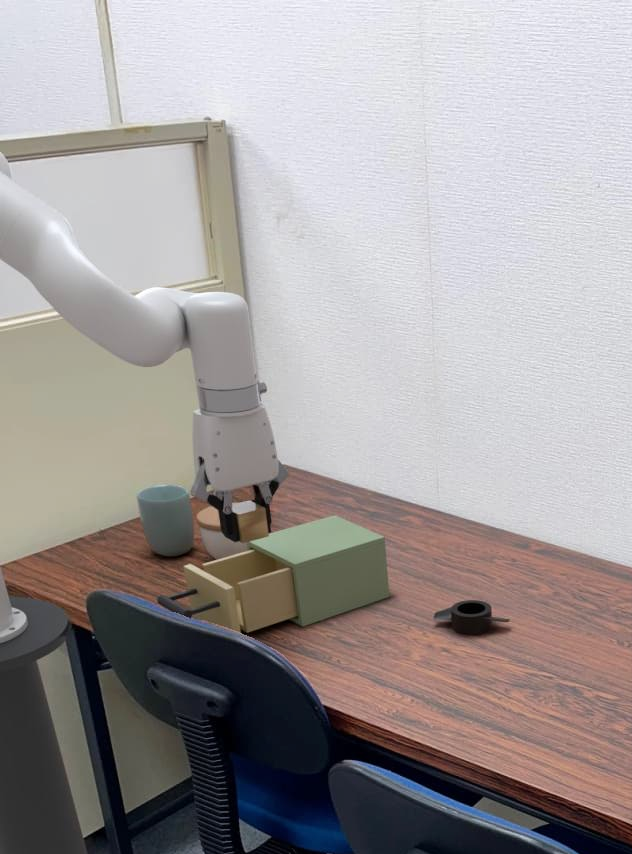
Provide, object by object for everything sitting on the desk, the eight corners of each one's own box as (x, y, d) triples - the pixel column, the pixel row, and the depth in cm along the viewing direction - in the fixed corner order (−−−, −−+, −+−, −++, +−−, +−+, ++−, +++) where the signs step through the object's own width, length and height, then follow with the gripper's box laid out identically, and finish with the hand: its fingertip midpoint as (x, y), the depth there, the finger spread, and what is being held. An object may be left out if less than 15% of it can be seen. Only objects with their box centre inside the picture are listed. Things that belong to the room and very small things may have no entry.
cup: (171, 564, 190) (159, 504, 184) (137, 554, 193) (125, 494, 188) (208, 550, 195) (198, 490, 190) (175, 540, 199) (164, 481, 193)
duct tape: (467, 608, 178) (466, 590, 176) (515, 628, 172) (514, 610, 171) (429, 624, 173) (427, 606, 171) (477, 645, 167) (476, 626, 166)
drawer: (197, 654, 161) (187, 601, 157) (155, 628, 168) (145, 576, 164) (322, 612, 174) (316, 561, 170) (278, 589, 180) (272, 540, 176)
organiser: (302, 626, 171) (294, 564, 166) (254, 600, 179) (245, 539, 174) (389, 596, 181) (384, 536, 176) (341, 573, 188) (334, 514, 183)
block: (242, 543, 159) (238, 514, 157) (227, 535, 161) (222, 506, 159) (268, 536, 161) (265, 507, 159) (253, 528, 164) (249, 500, 161)
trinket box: (273, 545, 197) (265, 490, 192) (272, 570, 189) (264, 513, 184) (206, 549, 195) (196, 494, 190) (202, 574, 187) (192, 517, 182)
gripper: (270, 381, 159) (286, 513, 168) (153, 402, 148) (177, 542, 158) (301, 393, 154) (316, 528, 164) (183, 415, 144) (205, 558, 154)
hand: (247, 533), depth 161 cm, fingers closed on block, 4 cm apart
